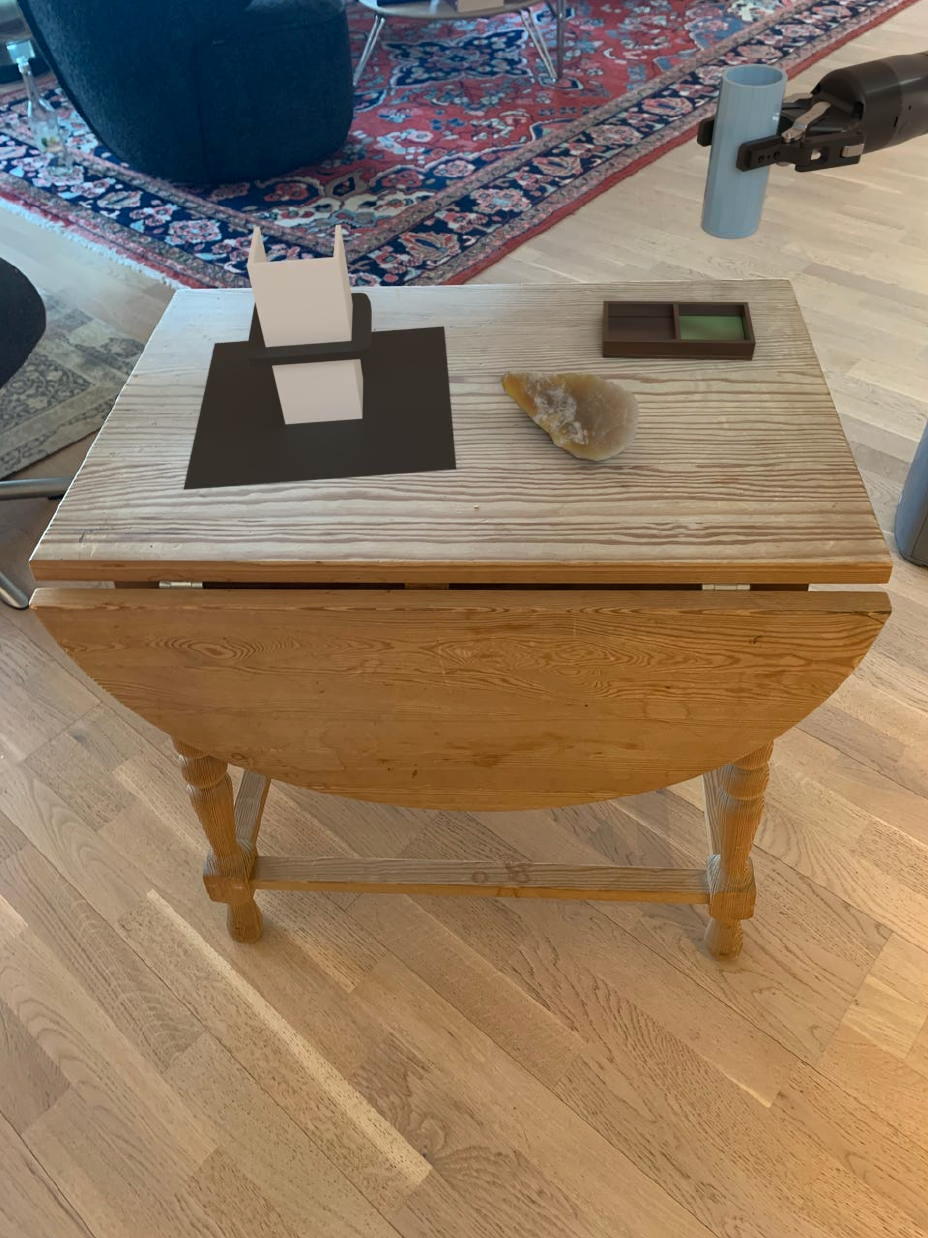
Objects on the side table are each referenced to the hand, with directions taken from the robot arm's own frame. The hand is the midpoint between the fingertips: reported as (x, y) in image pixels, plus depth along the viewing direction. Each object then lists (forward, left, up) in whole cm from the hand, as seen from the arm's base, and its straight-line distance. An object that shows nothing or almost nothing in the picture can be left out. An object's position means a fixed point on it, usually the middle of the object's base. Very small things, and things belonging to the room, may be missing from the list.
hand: (720, 145), depth 81 cm
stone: (+18, +9, -20) cm, 28 cm away
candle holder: (+38, -5, -20) cm, 43 cm away
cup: (-3, 0, -8) cm, 8 cm away
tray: (+1, -2, -20) cm, 20 cm away
